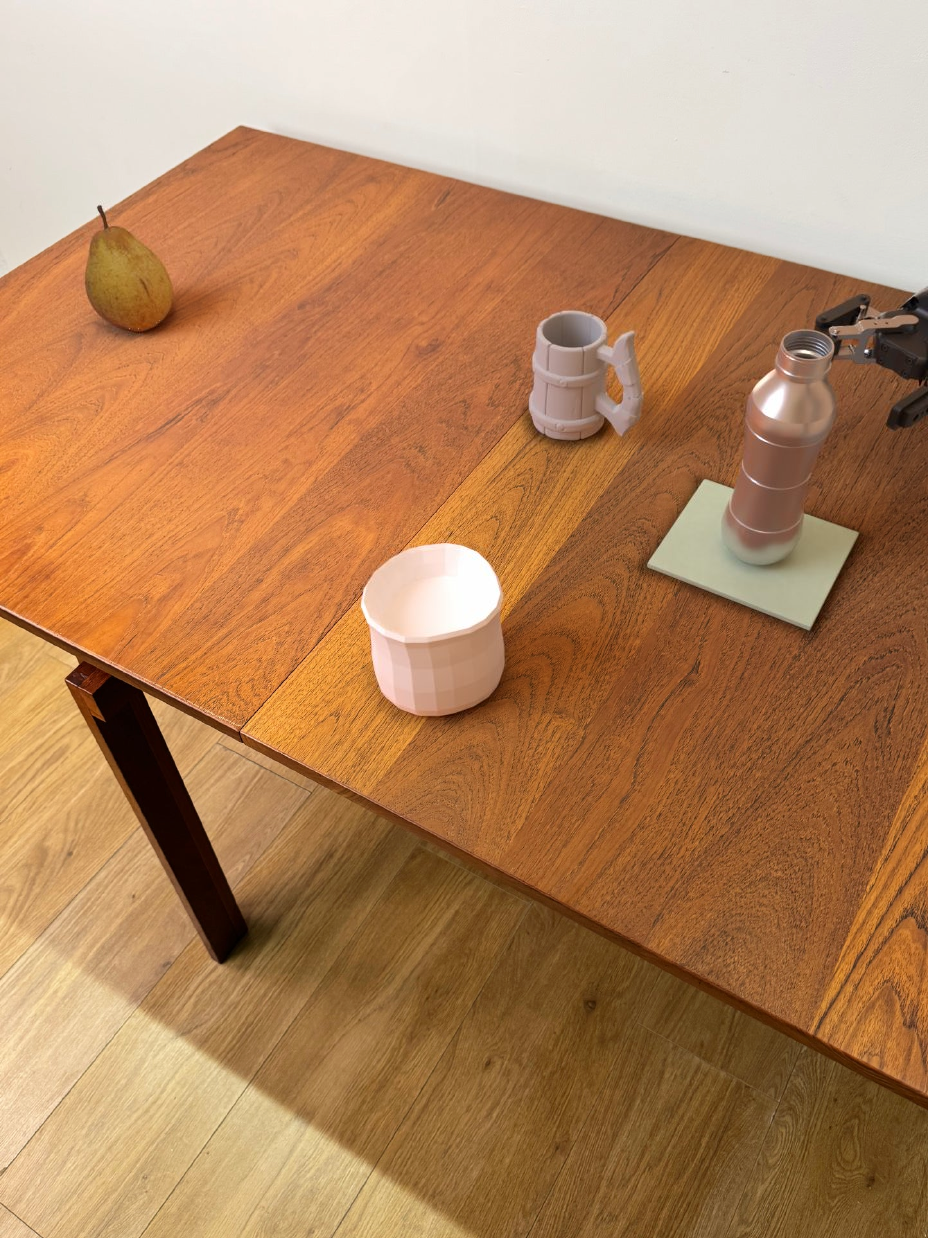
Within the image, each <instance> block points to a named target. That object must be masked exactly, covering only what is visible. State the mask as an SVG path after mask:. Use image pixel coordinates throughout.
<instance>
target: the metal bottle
mask: <svg viewBox="0 0 928 1238" xmlns="http://www.w3.org/2000/svg"><path fill="white" fill-rule="evenodd" d="M833 353H834V343H833V341H832V340H831V339H830V338H829V337H828V336H827V335H825V334H823V333H821V332H818V331H814V329H807V328H805V329H796V330H792V331H790V332H788V333H786V334H785V335H784V336H783V337H782V339H781V340H780V344H779V348H778V351H777V354H776V356H775V359H774V363H773V364H774V369H773V370H771V371H769V372H768V373H766V375H764V376H763V377H762V378H761V379H760V380H759V381H758V382H757V383H756V384H755V385H754V387H753V388H752V390H751V392H750V393H749V396H748V398H747V401H746V409H745V427H744V446H743V452H742V460H741V465H740V470H739V472H738V476H737V479H736V482H735V485H734V488H733V489H734V491H733V494H732V496H731V498H730V499H729V501H728V504H727V506H726V508H725V511H724V514H723V516H722V521H721V530H722V540H723V542H724V544H725V546H726V547H727V548H728V550H729V551H730V552H731V554H733V555H734V556H735V557H736V558H738V559H739V560H741V561H743V562H745V563H749V564H753V565H769V564H773V563H776V562H778V561H780V560H782V559H784V558H785V557H787V556H788V555H789V554H790V553H791V552H792V551H793V549H794V548H795V546H796V544H797V543H798V541H799V539H800V537H801V534H802V529H803V519H804V514H805V512H804V511H805V510H804V507H805V503H806V497H807V491H808V486H809V481H810V477H811V475H812V472H813V470H814V467H815V465H816V462H817V458H818V456H819V454H820V452H821V450H822V448H823V446H824V445H825V442H826V440H827V438H828V436H829V434H830V431H831V430H832V428H833V425H834V422H835V420H836V417H837V413H838V411H837V410H838V409H837V408H838V406H837V397H836V394H835V391H834V389H833V387H832V383H830V381H829V379H828V375H830V371H831V368H832V363H831V360H832V356H833Z"/></svg>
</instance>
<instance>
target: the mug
mask: <svg viewBox="0 0 928 1238" xmlns="http://www.w3.org/2000/svg"><path fill="white" fill-rule="evenodd" d="M635 336H636V333H635V331H634V330H629V331H628V332H627V331H626V332H625V333H623V334H621V335H620V336H619V338H617V339H616V341H614V344H613V346H608V328H607V325H606V323H605V321H603V320H602V319H601V318H600V317H598V316H597V315H594V314H592V313H588V312H584V311H580V310H562V311H558V312H555V313H553V314H551V315H550V316H549V317H547V318H545V319H543V320H541V321H540V322H539V324H538V327H536V336H535V349H534V351H533V354H532V357H531V360H532V362H531V364H532V365H531V366H532V367H531V369H532V372H533V389H532V390H531V392H530V394H529V398H528V410H529V414H530V416H531V419H532V423H533V426H534V427H535V428H536V430H537V431H538V432H539V433H541V434H543V435H545V436H546V437H548V438H551V439H555V440H561V441H579V440H580V439H581V440H583V439H584V440H585V439H587V438H590V437H591V436H593V435H595V434H596V433H597V432H599V431H600V429H601V428H602V427H603V425H604V424H605V418H606V419H607V420H608V421H609V422H610V425H611V426H612V427H613V429H614V431H615V433H617V435H618V436H619V437H623V438H624V437H625V436H626V435H627V434H629V432H630V431H631V429H633V428H635V427H636V426H637V424H638V423H639V421H640V419H641V414H642V413H641V412H642V407H643V402H644V394H645V393H644V391H643V385H642V380H641V373H640V369H639V365H638V358H637V354H636V348H635V338H636V337H635ZM610 365H611V366H613V367H614V368H613V369H614V371H615V374H616V377H617V379H618V381H619V383H620V384H621V385H622V388H623V391H622V401H621V402H620V403H618V404H617V403H616V402H615V400H614V399H613V398H611V397H610V396H609V393H608V392H607V373H608V371H609V368H610Z"/></svg>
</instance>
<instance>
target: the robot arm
mask: <svg viewBox="0 0 928 1238" xmlns="http://www.w3.org/2000/svg"><path fill="white" fill-rule="evenodd" d="M871 301H872V297H871V296H870V295H869V294H866V293H859V294H857V295H854V296H852V297H850V298H849V299H847V300H845V301H843V302H841V303H839V304H837V305H835V306H833V307H831V308H829V309H827V310H825V311H824V312H823V311H822V312H821V313H820V314H818V315H816V316H815V321H814V327H813V330H814V331H818V332H821V333H823V334H825V335H827V336H828V337H829V338H830V339H831V340H832V341H833V343H834V353H833V356H832V360H831V364H833V362H834V361H845V360H846V361H847V360H850V361H852V363H853V364H855V365H866V364H875V365H878V366H880V367H882V368H884V369H888V370H890V371H893V372H894V373H895V374H897V376H899V377H901V378H902V379H904V380H906V381H910V380H913V381H916V389H915V390H913V391H912V392H910V393H909V394H907V395H906V396H904V397H903V398H901V399H900V400H899V401H897V402H895V404H893V406H892V407H891V409H890V411H889V414H888V417H887V420H886V423H885V427H886V428H888V429H890V430H891V431H893V432H895V431H897V430H899V429H900V428H902V429H907V428H911V427H913V426H914V425H915V424H917V423H919V422H920V421H921V420H923V419H925V418H926V417H927V416H928V285H927V286H926V287H924V288H921V290H919V291H917V292H916V293H914V294H913V295H912V296H911V297H910V298H908V299H907V300H906V301H905V302H904V303H903V304H902V305H901V306H900V307H899V308H897V309H894V310H887V311H884V312H880V311H879V310H877V309H875V308H873V307H871ZM871 336H872V348H871V349H870V348H869V349H866V348H867V345H868V341H869V338H870V337H871ZM844 340H852V341H851V343H850V344H849V345H842V343H843V341H844Z"/></svg>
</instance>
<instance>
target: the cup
mask: <svg viewBox="0 0 928 1238" xmlns="http://www.w3.org/2000/svg"><path fill="white" fill-rule="evenodd" d="M362 591H363V592H362V597H361V600H360V601H361V602H360V607H361V610H362V613H363V615H364V618H365V620H366V623H367V625H368V627H369V632H370V640H371V641H370V643H371V645H370V646H371V659H372V664H373V670H374V675H375V677H376V680H377V683H378V686H379V688H380V689H379V690H380V692H381V693H382V695H383V696H384V697H385V698H386V699H387V700H388V701H389V702H391V703H392V704H393V705H394V706H396V708H398V709H399V710H402V711H404V712H407V713H410V714H413V715H415V716H418V717H441V716H442V717H443V716H447V715H452V714H457V713H459V712H462V711H464V710H467V709H471V708H473V707H475V706H477V705H478V704H480V703H481V702H483V701H485V700H486V699H488V698H489V697H490V696H491V695H492V694H493V692H494V691H495V690H496V689H497V687H498V686H499V684H500V681H501V678H502V675H503V671H504V669H505V666H506V665H505V664H506V663H505V662H506V661H505V642H504V635H503V630H502V623H501V609H502V604H503V601H504V593H503V588H502V585H501V581H500V578H499V577H498V575H497V573H496V571H495V569H494V568H493V566H492V564H491V563H490V562H488V560H486V558H485V557H484V556H482V555H481V554H480V553H479V551H476V550H475V549H474V550H473V549H472V548H469V547H466V546H464V545H461V544H455V543H449V542H443V543H434V544H424V545H418V546H415V547H411V548H407V549H405V550H403V551H401V552H399V553H398V554H395V555H394V556H392V557H390V558H389V559H388V560H387V561H386V562H384V563H383V564H382V565H381V566H379V567H378V568H377V569H376V570H375V571H374V572H373V574H372V575H371V577H370V578H369V580H368V582H367V583H366V585H365V586H364V587H363V590H362Z"/></svg>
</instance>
